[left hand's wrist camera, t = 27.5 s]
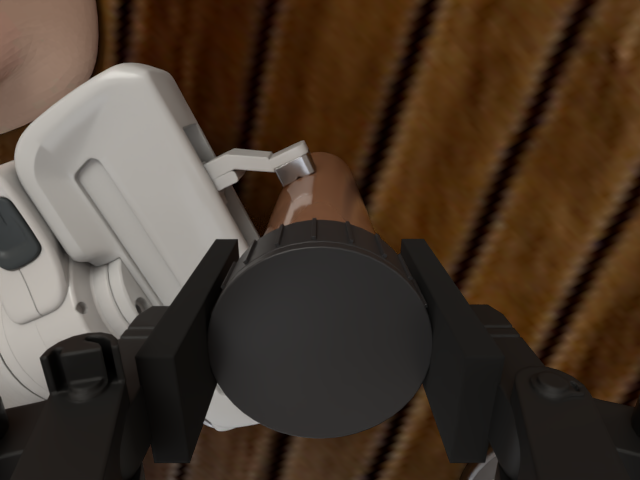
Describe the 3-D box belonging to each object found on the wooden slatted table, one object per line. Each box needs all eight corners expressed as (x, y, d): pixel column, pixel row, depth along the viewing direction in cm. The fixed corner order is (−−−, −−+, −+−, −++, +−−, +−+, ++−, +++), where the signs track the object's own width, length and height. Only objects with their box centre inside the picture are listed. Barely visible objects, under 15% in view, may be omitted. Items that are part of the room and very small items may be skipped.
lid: (453, 265, 12) (479, 300, 10) (364, 411, 13) (371, 465, 11) (265, 183, 11) (252, 204, 9) (197, 350, 13) (174, 398, 11)
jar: (368, 173, 27) (440, 301, 11) (333, 232, 28) (350, 423, 12) (305, 138, 26) (282, 219, 10) (272, 200, 27) (205, 360, 11)
